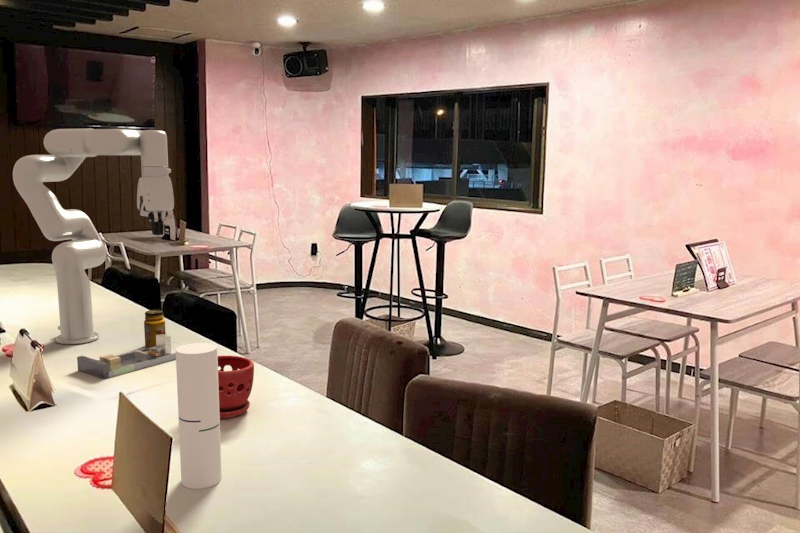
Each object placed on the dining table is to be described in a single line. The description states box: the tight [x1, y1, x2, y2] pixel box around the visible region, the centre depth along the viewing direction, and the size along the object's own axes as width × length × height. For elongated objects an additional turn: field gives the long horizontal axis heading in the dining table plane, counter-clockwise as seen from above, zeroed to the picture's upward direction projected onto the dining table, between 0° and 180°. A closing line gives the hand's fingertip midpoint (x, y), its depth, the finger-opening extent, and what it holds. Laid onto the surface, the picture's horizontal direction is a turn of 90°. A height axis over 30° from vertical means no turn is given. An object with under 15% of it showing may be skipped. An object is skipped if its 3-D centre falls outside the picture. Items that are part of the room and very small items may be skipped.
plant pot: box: [218, 355, 255, 419], centre depth 163 cm, size 13×13×12 cm
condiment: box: [143, 309, 167, 349], centre depth 214 cm, size 7×8×12 cm
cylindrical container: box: [175, 342, 223, 490], centre depth 128 cm, size 7×7×25 cm
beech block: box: [99, 353, 121, 371], centre depth 191 cm, size 5×3×4 cm, turn 55°
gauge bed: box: [76, 346, 176, 380], centre depth 196 cm, size 12×24×5 cm, turn 145°
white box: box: [133, 334, 172, 361], centre depth 201 cm, size 8×9×6 cm
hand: (157, 234), depth 211 cm, fingers closed
